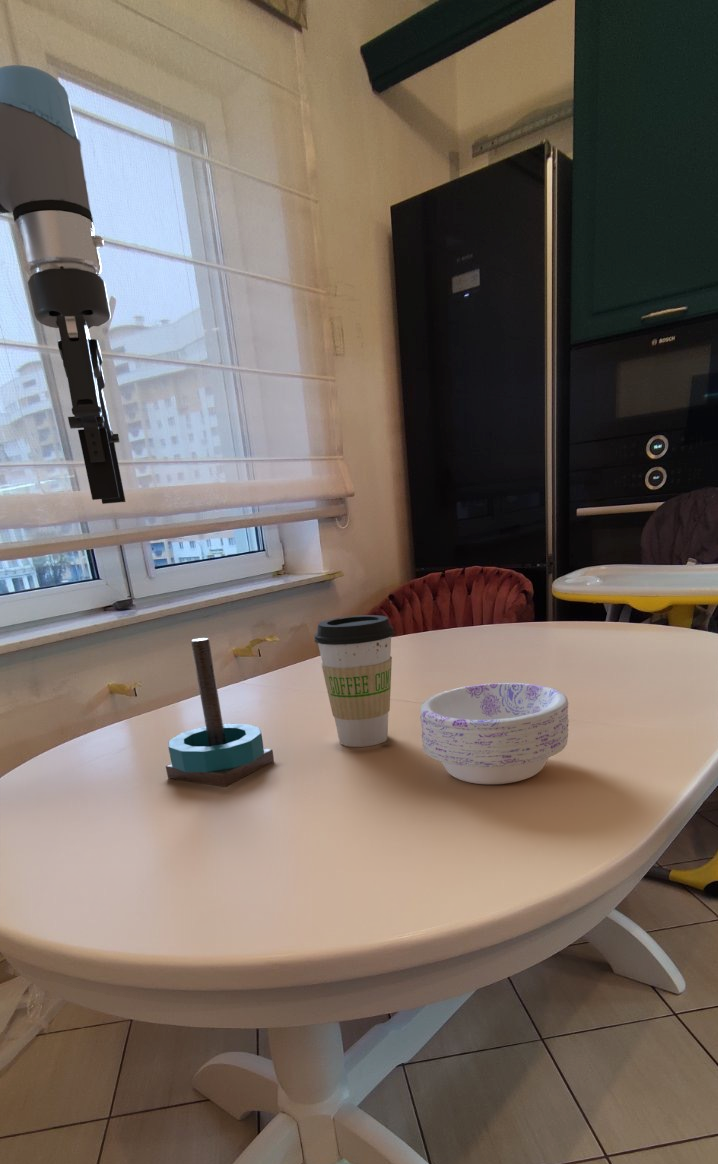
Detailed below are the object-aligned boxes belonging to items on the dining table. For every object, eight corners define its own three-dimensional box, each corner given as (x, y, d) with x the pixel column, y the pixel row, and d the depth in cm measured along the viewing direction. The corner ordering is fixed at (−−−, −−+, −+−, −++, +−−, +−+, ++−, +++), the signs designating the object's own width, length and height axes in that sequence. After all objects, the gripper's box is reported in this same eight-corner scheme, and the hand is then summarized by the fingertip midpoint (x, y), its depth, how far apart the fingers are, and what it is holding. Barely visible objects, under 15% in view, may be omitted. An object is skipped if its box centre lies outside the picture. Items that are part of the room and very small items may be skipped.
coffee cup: (358, 756, 87) (346, 630, 81) (310, 742, 94) (296, 625, 88) (417, 736, 92) (410, 616, 87) (368, 724, 99) (358, 612, 94)
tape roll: (154, 771, 84) (150, 750, 83) (200, 742, 93) (196, 723, 92) (239, 773, 80) (235, 751, 79) (277, 743, 90) (274, 723, 89)
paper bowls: (408, 793, 74) (402, 718, 71) (441, 747, 87) (438, 682, 84) (561, 800, 69) (562, 719, 66) (572, 749, 82) (573, 680, 79)
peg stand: (167, 778, 86) (141, 646, 80) (218, 754, 93) (197, 632, 87) (225, 786, 81) (202, 647, 75) (274, 760, 88) (256, 632, 82)
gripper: (92, 230, 63) (141, 493, 71) (111, 308, 86) (146, 501, 94) (1, 231, 62) (61, 500, 70) (45, 311, 84) (86, 506, 92)
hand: (110, 501), depth 82 cm, fingers open, 13 cm apart
